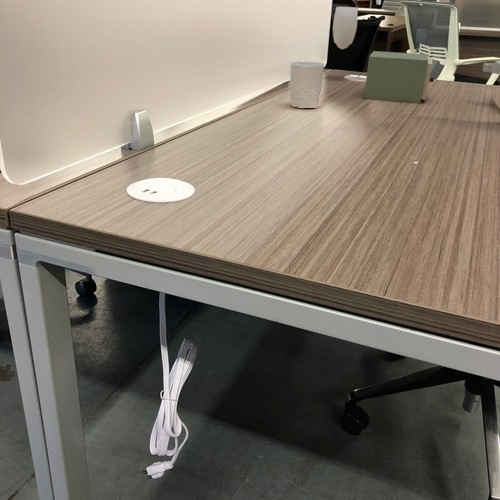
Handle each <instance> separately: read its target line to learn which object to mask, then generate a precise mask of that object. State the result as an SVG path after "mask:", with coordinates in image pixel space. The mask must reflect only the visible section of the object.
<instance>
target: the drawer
mask: <svg viewBox="0 0 500 500" xmlns="http://www.w3.org/2000/svg"><path fill="white" fill-rule="evenodd" d="M432 69H433V58H432V57H431V58H429V57H428V65H427V70H426V76H425V81H424V87H423V92H422V98H421V100H424V101H425V100H426V101H427V96H428V91H429V85H430V83H434V80H435V75H431V74H432V71H433V70H432Z"/></svg>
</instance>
